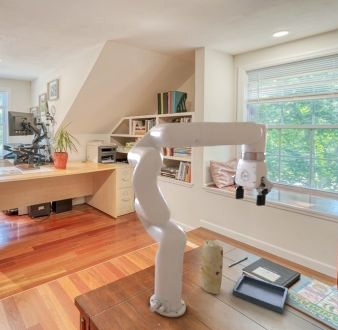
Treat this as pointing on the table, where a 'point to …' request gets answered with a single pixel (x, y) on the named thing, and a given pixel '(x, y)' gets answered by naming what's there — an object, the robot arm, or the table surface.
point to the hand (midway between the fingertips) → (249, 201)
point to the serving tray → (261, 293)
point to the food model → (212, 267)
